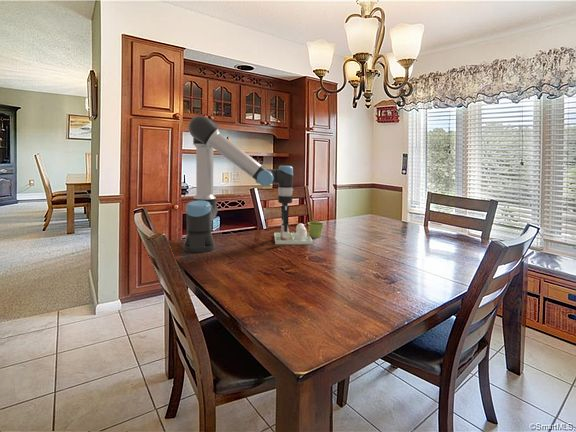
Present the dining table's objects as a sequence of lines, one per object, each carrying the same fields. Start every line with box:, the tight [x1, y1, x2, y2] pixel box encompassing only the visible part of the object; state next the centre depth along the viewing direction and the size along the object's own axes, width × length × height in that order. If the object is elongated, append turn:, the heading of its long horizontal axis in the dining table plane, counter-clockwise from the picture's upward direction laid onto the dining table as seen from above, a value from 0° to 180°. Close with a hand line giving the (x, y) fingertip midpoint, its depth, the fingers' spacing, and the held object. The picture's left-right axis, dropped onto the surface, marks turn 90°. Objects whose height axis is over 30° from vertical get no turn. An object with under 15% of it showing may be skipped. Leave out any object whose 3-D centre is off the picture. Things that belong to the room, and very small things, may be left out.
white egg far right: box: [298, 226, 308, 241], centre depth 186 cm, size 5×5×8 cm
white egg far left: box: [295, 223, 305, 236], centre depth 195 cm, size 5×5×8 cm
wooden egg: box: [280, 227, 290, 241], centre depth 185 cm, size 5×5×8 cm
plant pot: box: [307, 221, 325, 239], centre depth 199 cm, size 9×9×9 cm
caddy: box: [273, 232, 314, 245], centre depth 191 cm, size 20×20×3 cm
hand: (284, 234), depth 185 cm, fingers open, 13 cm apart
